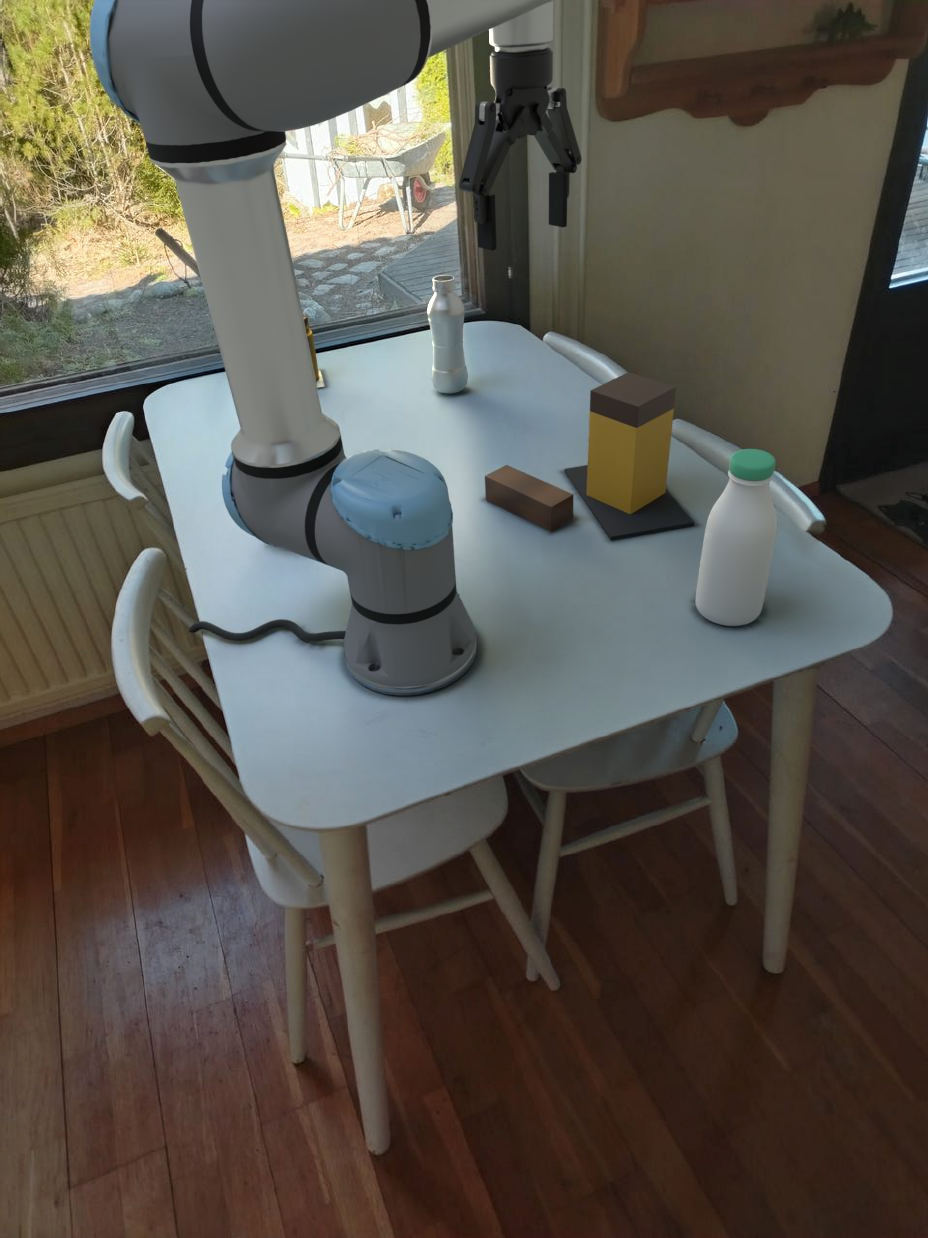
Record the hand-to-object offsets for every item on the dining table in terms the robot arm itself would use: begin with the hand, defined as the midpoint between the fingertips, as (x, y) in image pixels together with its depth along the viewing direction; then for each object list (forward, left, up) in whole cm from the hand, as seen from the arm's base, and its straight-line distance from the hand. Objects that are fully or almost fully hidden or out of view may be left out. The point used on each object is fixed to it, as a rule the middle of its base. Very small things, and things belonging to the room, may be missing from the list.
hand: (523, 236), depth 115 cm
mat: (+10, -17, -33) cm, 38 cm away
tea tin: (+8, -14, -24) cm, 29 cm away
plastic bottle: (-6, +29, -33) cm, 44 cm away
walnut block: (-4, -16, -33) cm, 37 cm away
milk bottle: (+12, -45, -33) cm, 57 cm away
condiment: (-32, +43, -33) cm, 63 cm away
